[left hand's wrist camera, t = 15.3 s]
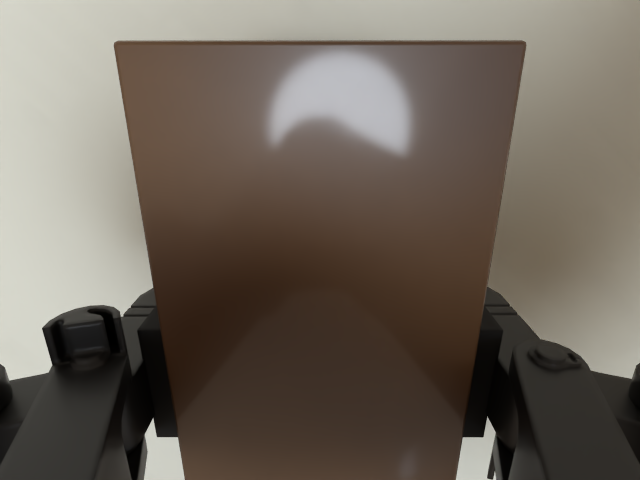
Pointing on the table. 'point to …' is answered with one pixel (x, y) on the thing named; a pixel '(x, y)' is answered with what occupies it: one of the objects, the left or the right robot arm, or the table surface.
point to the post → (320, 244)
